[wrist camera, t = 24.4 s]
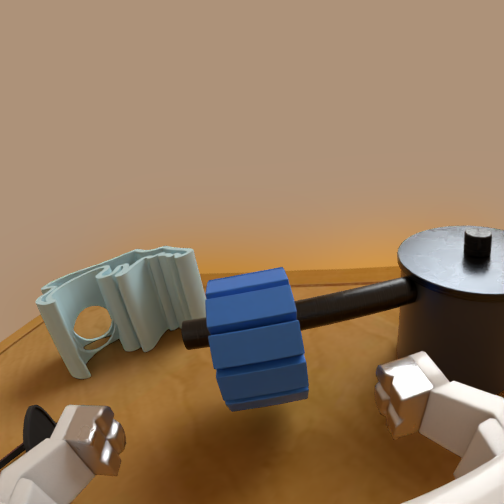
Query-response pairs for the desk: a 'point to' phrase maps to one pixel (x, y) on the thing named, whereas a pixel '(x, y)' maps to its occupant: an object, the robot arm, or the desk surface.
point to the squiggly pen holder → (124, 301)
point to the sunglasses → (32, 432)
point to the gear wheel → (256, 340)
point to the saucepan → (427, 304)
